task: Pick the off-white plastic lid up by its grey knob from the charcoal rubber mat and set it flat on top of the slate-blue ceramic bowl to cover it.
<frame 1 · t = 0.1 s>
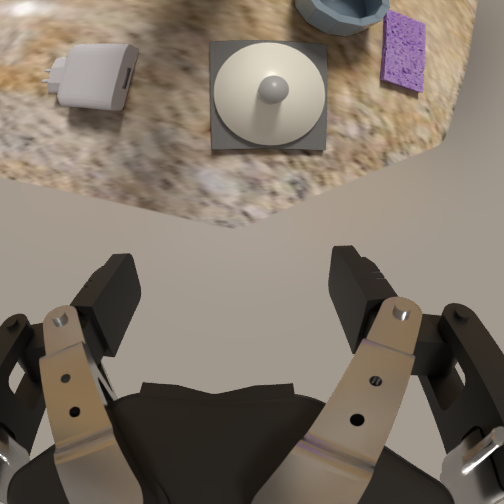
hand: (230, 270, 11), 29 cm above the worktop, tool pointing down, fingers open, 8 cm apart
sponges: (400, 50, 29), on the worktop
mat: (269, 93, 33), on the worktop
bowl: (333, 4, 26), on the worktop
lid: (269, 92, 32), point 1 cm above the worktop, touching mat
charger: (89, 76, 30), on the worktop
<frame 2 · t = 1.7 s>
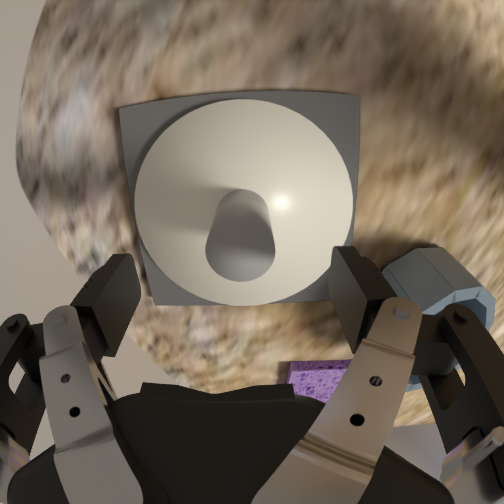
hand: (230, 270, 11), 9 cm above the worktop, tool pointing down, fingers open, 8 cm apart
sponges: (339, 374, 29), on the worktop
mat: (243, 205, 19), on the worktop
bowl: (412, 298, 23), on the worktop
lid: (242, 210, 18), point 1 cm above the worktop, touching mat
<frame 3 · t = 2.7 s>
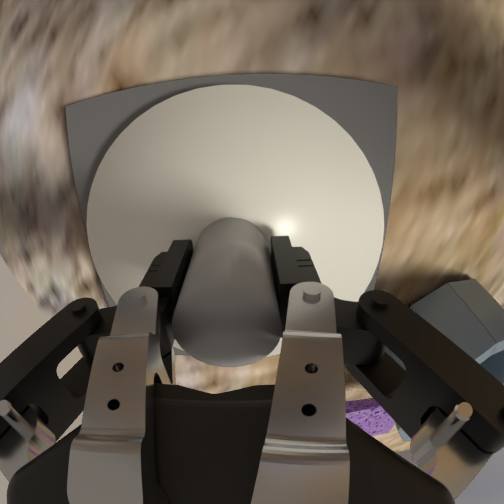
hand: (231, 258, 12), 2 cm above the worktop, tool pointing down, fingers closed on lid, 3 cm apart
sponges: (345, 412, 24), on the worktop
mat: (233, 235, 14), on the worktop
bowl: (434, 335, 18), on the worktop
lid: (232, 244, 13), point 1 cm above the worktop, touching gripper, mat
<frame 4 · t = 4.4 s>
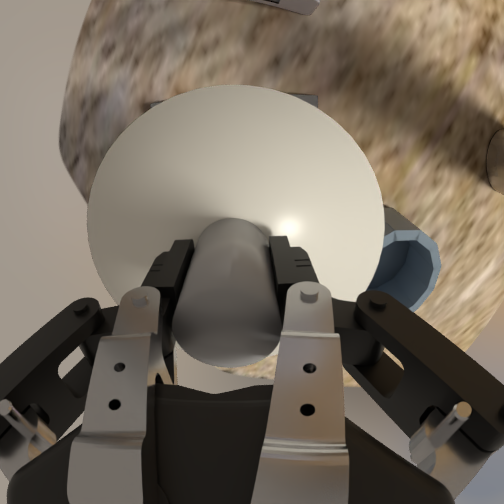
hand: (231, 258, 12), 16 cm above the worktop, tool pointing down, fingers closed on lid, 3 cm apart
bowl: (371, 251, 31), on the worktop
lid: (233, 244, 13), point 15 cm above the worktop, touching gripper
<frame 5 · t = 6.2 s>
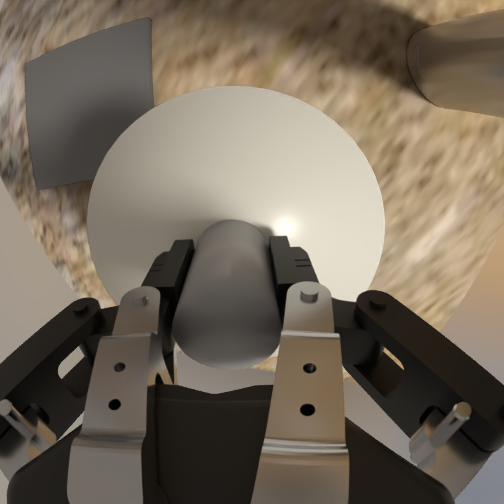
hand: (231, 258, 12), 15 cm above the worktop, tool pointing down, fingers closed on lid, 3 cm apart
mat: (84, 107, 21), on the worktop
lid: (233, 245, 13), point 14 cm above the worktop, touching gripper
when the fingers open (9 cm above the worktop, at t = 7.4 s): lid drops 2 cm, resting on bowl.
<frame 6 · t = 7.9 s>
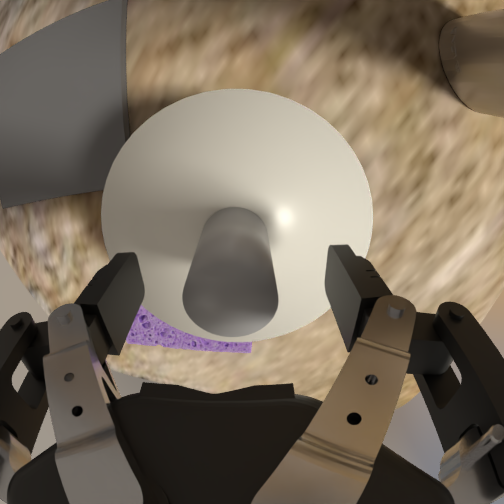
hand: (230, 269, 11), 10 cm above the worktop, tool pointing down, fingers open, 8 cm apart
sponges: (186, 310, 26), on the worktop
mat: (48, 108, 16), on the worktop
lid: (235, 231, 14), point 6 cm above the worktop, touching bowl
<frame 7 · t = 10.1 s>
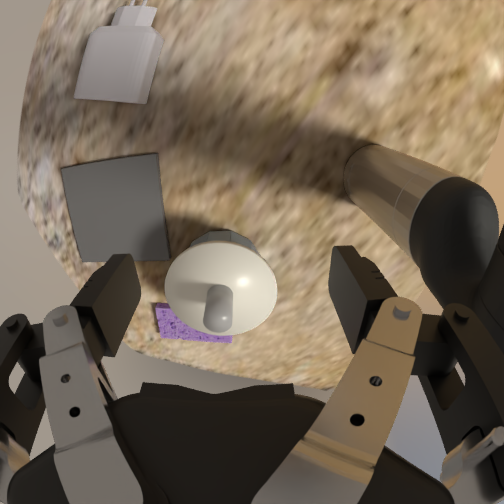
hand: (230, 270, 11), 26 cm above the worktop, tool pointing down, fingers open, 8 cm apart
sponges: (195, 318, 47), on the worktop
mat: (114, 211, 37), on the worktop
bowl: (222, 264, 41), on the worktop
lid: (220, 291, 35), point 6 cm above the worktop, touching bowl
charger: (131, 48, 27), on the worktop
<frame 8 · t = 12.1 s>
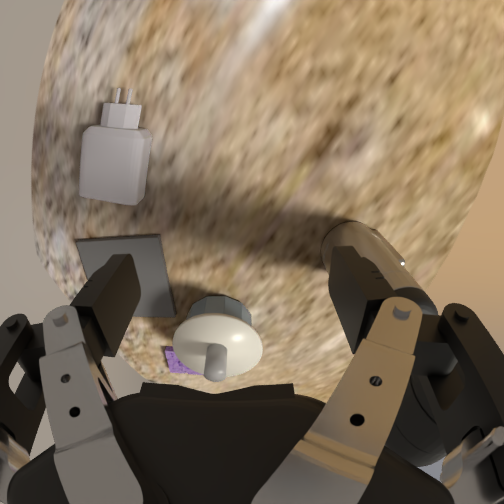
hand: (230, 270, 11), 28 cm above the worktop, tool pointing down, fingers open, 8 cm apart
sponges: (199, 357, 54), on the worktop
mat: (126, 278, 44), on the worktop
bowl: (219, 319, 48), on the worktop
lid: (217, 346, 43), point 6 cm above the worktop, touching bowl
charger: (123, 140, 34), on the worktop
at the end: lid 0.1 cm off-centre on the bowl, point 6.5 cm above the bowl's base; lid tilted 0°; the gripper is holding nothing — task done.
